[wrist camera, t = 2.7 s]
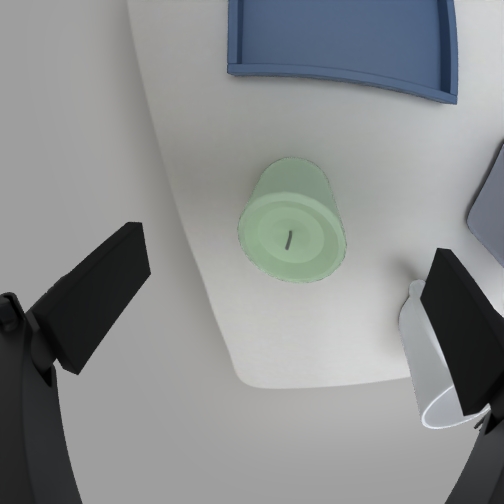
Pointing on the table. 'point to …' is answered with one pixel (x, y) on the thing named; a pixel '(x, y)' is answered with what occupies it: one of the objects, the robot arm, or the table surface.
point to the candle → (293, 223)
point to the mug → (429, 366)
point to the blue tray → (349, 43)
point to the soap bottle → (490, 212)
